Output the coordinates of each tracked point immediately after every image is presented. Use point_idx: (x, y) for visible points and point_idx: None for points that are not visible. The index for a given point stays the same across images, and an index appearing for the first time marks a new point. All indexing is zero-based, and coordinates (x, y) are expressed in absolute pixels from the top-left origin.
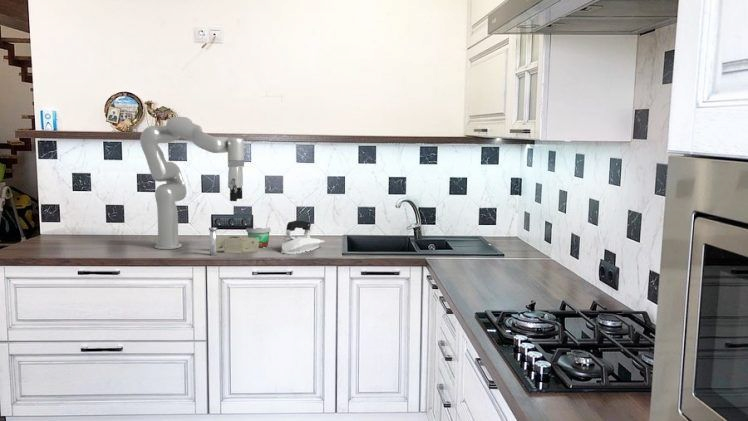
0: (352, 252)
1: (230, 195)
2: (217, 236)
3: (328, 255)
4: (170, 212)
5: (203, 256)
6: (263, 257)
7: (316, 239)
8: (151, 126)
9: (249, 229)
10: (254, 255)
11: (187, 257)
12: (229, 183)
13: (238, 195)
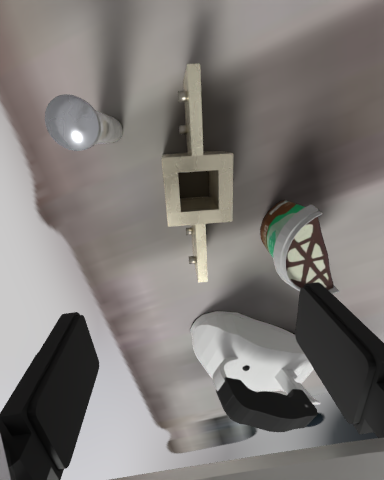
0: (239, 426)
1: (33, 374)
2: (200, 105)
3: (196, 402)
4: None
5: None
6: (128, 294)
7: (274, 390)
8: None
9: (294, 229)
10: (148, 263)
11: (22, 34)
12: None
13: (317, 338)
